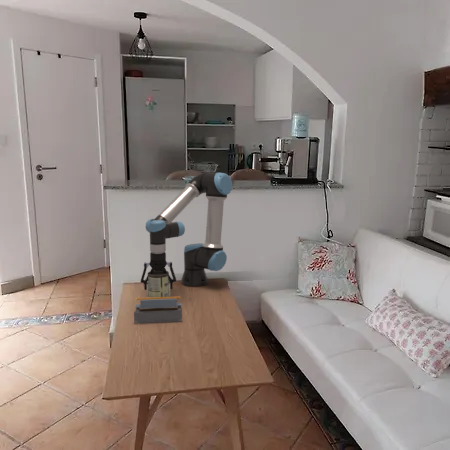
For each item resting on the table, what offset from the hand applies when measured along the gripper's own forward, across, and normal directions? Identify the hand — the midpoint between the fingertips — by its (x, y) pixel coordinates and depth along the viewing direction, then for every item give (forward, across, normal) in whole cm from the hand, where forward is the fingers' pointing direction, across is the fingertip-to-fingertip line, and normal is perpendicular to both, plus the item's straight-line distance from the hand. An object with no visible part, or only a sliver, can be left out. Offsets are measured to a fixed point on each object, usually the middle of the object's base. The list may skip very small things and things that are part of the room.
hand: (158, 295), depth 214 cm
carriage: (+3, 0, +7) cm, 8 cm away
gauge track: (+5, 0, +14) cm, 15 cm away
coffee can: (+3, 0, 0) cm, 3 cm away
